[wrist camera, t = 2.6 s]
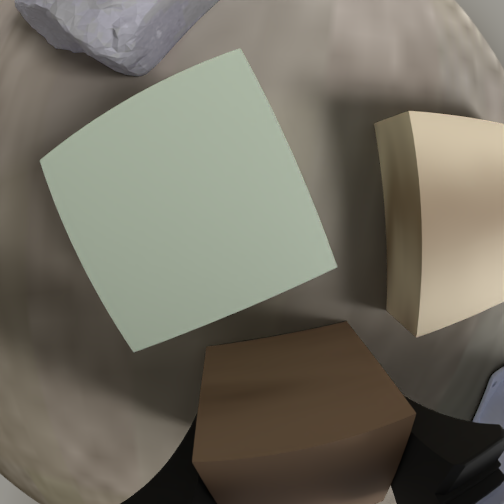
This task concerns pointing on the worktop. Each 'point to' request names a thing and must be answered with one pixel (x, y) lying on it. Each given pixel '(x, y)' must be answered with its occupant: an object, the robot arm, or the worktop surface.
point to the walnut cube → (299, 421)
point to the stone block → (115, 28)
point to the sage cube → (187, 203)
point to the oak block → (442, 217)
